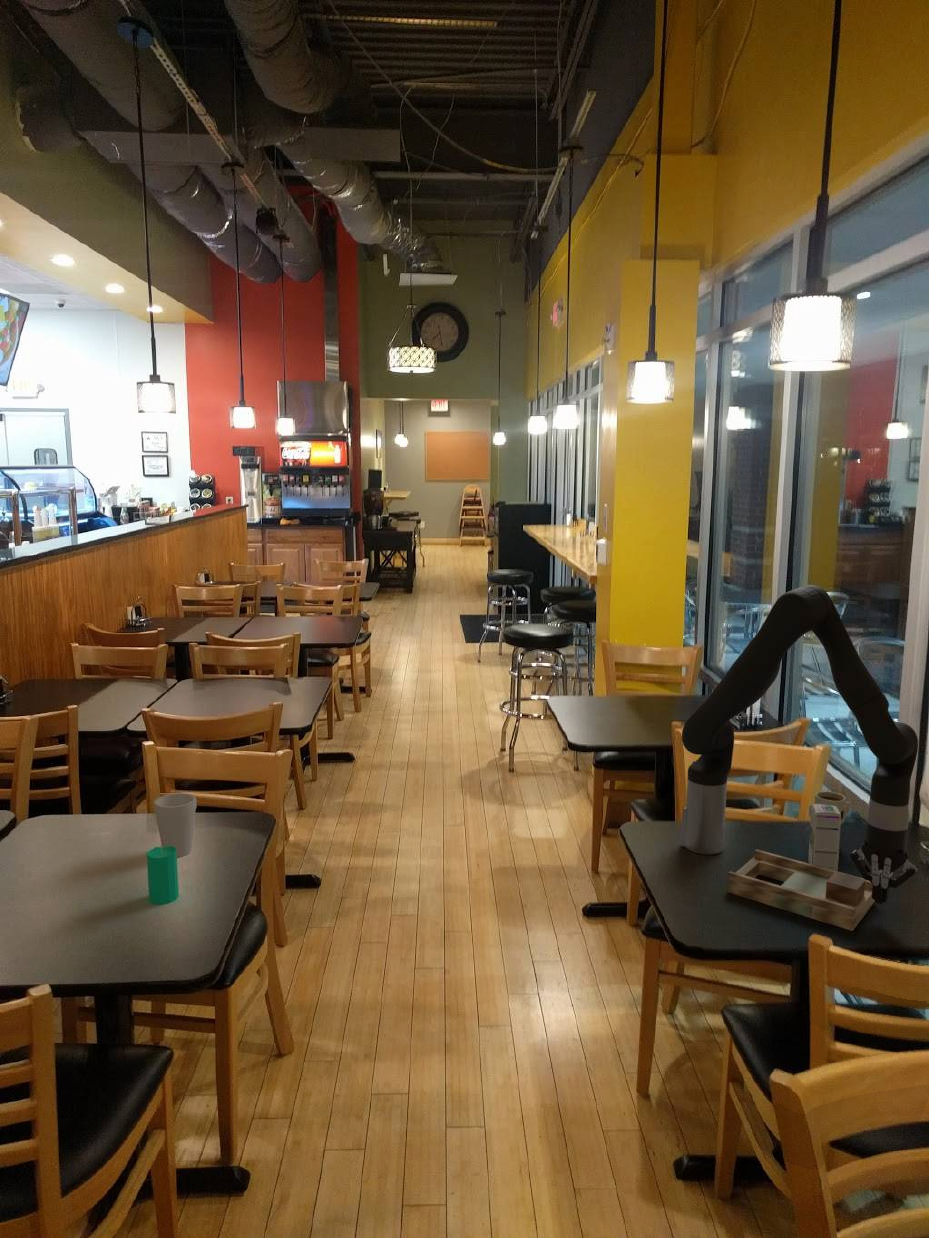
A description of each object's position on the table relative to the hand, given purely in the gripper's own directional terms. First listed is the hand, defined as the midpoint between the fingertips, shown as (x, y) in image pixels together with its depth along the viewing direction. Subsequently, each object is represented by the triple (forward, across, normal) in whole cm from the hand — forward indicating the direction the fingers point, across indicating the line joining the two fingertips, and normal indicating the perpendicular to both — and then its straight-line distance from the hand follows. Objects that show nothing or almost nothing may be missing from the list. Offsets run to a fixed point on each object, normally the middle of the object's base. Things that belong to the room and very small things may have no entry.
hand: (879, 902), depth 180 cm
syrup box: (+4, -17, +18) cm, 25 cm away
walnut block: (+1, -7, 0) cm, 7 cm away
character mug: (+4, -20, +31) cm, 37 cm away
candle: (+4, -120, -88) cm, 149 cm away
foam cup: (+4, -138, -73) cm, 156 cm away
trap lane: (+4, -16, 0) cm, 16 cm away
